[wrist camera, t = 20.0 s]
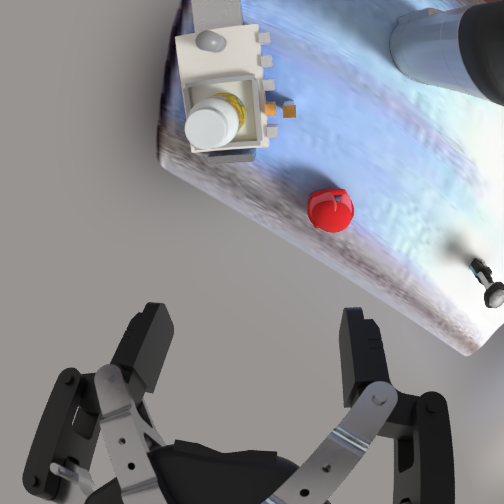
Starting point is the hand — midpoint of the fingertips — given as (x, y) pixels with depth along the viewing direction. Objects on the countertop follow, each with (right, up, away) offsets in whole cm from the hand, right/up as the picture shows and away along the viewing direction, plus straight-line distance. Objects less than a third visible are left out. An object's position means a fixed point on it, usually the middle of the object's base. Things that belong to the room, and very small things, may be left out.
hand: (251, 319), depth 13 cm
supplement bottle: (-3, +20, +20) cm, 28 cm away
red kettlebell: (+11, +10, +29) cm, 33 cm away
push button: (+45, 0, +31) cm, 55 cm away
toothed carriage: (-3, +23, +19) cm, 30 cm away
